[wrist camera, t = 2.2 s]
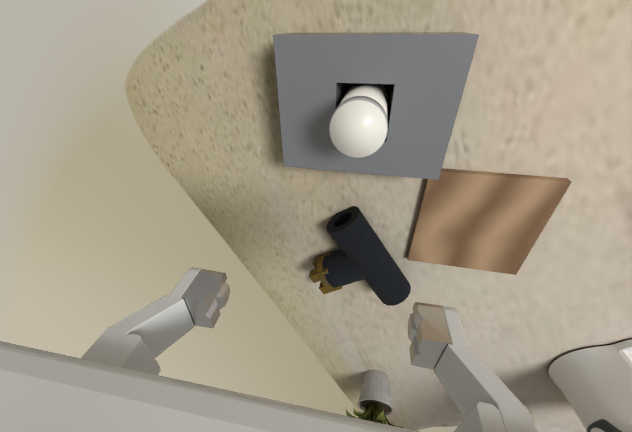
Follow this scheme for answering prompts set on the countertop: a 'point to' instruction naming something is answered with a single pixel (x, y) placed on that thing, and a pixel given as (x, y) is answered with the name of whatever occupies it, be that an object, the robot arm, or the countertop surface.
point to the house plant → (375, 398)
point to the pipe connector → (359, 260)
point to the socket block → (372, 68)
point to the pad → (483, 218)
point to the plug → (360, 120)
